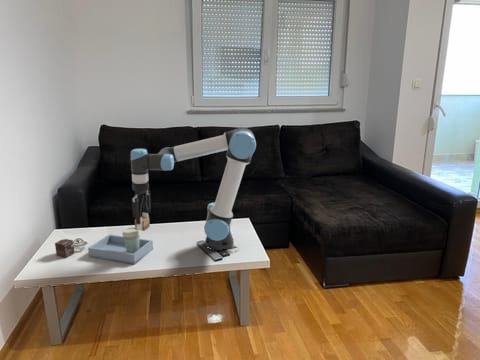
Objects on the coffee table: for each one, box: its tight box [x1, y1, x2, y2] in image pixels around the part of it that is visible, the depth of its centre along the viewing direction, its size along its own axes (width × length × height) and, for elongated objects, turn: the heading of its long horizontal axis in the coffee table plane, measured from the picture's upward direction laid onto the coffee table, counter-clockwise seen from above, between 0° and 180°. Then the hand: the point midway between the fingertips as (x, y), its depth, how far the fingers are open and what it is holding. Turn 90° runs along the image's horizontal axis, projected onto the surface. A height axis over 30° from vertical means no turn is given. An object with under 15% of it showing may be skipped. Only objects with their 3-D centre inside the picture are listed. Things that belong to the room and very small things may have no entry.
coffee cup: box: [122, 226, 141, 254], centre depth 189 cm, size 8×9×12 cm
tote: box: [87, 234, 154, 265], centre depth 192 cm, size 26×17×5 cm, turn 73°
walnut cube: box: [134, 215, 151, 232], centre depth 184 cm, size 5×5×5 cm
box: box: [54, 238, 75, 259], centre depth 190 cm, size 6×6×7 cm
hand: (142, 227), depth 185 cm, fingers closed on walnut cube, 5 cm apart
